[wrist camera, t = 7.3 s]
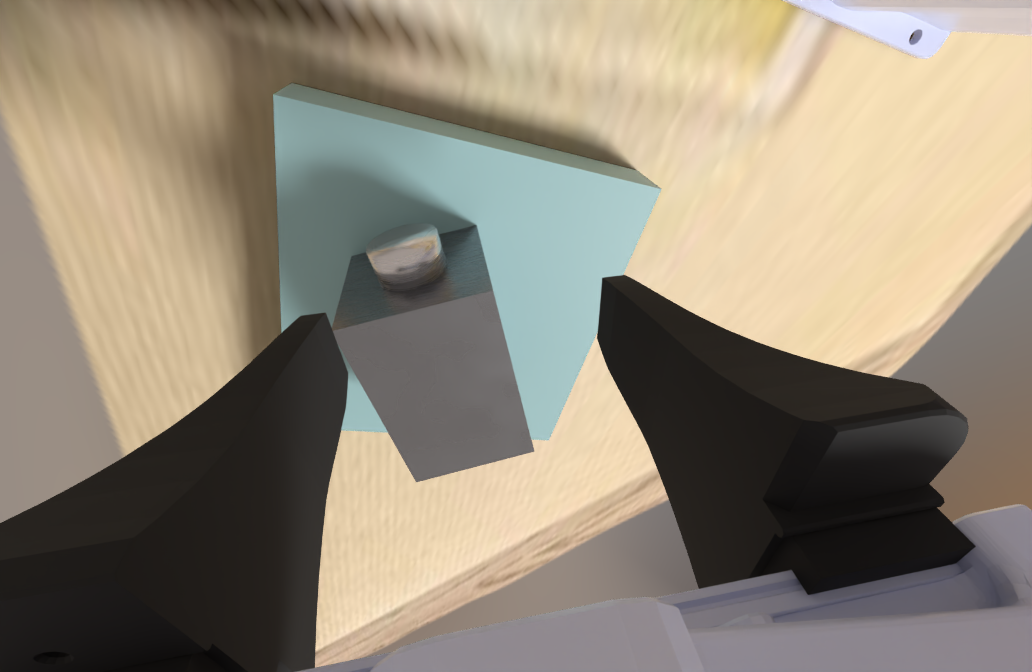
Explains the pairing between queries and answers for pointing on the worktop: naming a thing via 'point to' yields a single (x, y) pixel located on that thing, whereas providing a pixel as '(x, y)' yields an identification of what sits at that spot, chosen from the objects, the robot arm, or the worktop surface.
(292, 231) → the stand
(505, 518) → the worktop surface
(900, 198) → the worktop surface
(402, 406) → the housing
